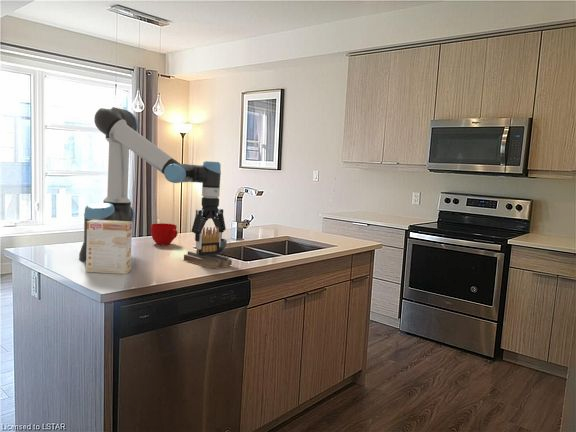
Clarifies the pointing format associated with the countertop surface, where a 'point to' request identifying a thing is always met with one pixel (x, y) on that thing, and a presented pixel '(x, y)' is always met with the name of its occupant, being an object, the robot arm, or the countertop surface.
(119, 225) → the coffeecake box
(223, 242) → the mortar and pestle
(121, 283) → the countertop surface
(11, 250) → the countertop surface
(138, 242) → the countertop surface
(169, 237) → the ceramic cup
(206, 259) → the stick bundle
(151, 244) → the countertop surface
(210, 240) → the ammunition clip
